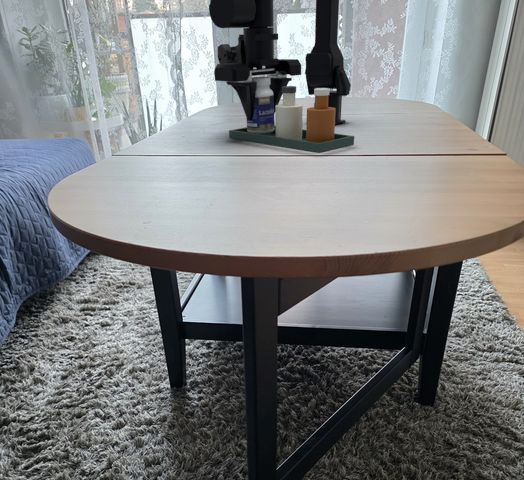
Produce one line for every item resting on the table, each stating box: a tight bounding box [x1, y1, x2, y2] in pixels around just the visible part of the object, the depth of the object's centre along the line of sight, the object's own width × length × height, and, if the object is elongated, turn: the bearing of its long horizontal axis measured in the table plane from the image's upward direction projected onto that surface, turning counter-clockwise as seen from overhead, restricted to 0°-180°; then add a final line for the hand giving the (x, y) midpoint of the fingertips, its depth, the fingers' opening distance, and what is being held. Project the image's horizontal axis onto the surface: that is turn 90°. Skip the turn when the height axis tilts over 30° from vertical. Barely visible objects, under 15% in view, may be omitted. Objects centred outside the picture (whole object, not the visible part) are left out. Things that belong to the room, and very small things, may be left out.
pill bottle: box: [246, 76, 276, 134], centre depth 102 cm, size 6×6×10 cm
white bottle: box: [274, 85, 304, 140], centre depth 98 cm, size 5×5×10 cm
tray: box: [228, 125, 355, 154], centre depth 100 cm, size 10×24×2 cm, turn 44°
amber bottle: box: [305, 88, 336, 143], centre depth 93 cm, size 5×5×10 cm
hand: (260, 118), depth 103 cm, fingers closed on pill bottle, 6 cm apart
